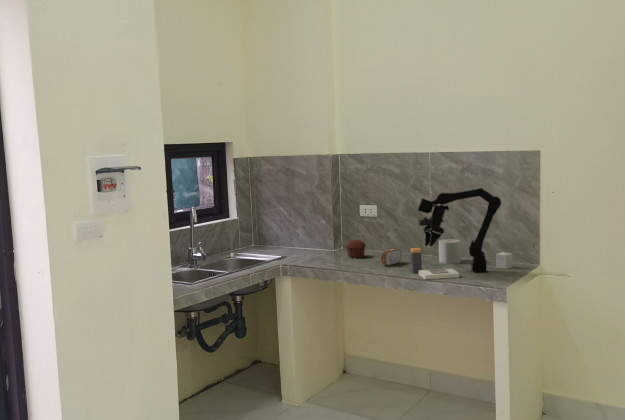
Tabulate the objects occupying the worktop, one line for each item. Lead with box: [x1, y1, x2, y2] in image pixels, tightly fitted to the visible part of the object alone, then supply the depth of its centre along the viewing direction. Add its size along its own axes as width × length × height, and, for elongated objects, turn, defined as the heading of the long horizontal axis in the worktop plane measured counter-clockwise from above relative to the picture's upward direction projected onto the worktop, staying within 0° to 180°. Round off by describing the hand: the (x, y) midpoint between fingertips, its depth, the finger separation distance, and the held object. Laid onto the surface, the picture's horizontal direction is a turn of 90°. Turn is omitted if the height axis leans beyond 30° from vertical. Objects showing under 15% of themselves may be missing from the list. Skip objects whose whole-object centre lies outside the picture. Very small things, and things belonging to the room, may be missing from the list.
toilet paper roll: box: [438, 238, 462, 265], centre depth 346 cm, size 12×12×12 cm
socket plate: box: [418, 268, 460, 280], centre depth 313 cm, size 17×12×2 cm
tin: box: [380, 247, 402, 266], centre depth 346 cm, size 15×3×8 cm, turn 134°
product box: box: [495, 251, 514, 270], centre depth 326 cm, size 6×6×7 cm
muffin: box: [345, 239, 367, 259], centre depth 371 cm, size 12×11×10 cm
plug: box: [410, 247, 423, 274], centre depth 323 cm, size 4×4×12 cm
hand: (428, 246), depth 320 cm, fingers open, 9 cm apart
